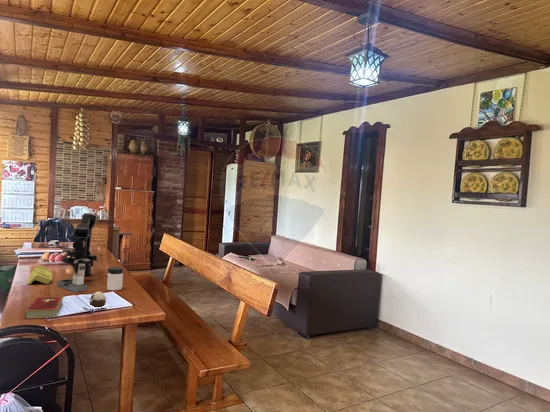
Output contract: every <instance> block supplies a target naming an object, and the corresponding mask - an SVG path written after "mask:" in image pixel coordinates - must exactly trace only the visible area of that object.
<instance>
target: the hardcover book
mask: <svg viewBox="0 0 550 412" xmlns="http://www.w3.org/2000/svg"><path fill="white" fill-rule="evenodd" d="M63 299H64V296H37V297H36V298H35V299H34V300H33V301H32V303H31V304H30V305H29V306H28V308H27V309H26V311H25V312H24V319H42V318H43V319H44V318H45V319H46V317H50V318H55V317H56V316H57V314H58V313H57V311H58V310H60V309H59V308H61V307H62V305H63ZM61 304H62V305H61ZM60 306H61V307H60ZM58 312H59V311H58ZM56 313H57V314H56ZM55 315H56V316H55ZM54 316H55V317H54Z"/></svg>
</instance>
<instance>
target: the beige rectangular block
mask: <svg viewBox="0 0 550 412" xmlns="http://www.w3.org/2000/svg"><path fill="white" fill-rule="evenodd" d="M85 267H86V266H85V264H83V263H79V265H78V272H77V274H82V275H85ZM73 271H74V270H73ZM73 275H75V271H74V274H73Z"/></svg>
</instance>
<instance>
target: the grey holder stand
mask: <svg viewBox="0 0 550 412" xmlns="http://www.w3.org/2000/svg"><path fill="white" fill-rule="evenodd" d="M84 281H85V276H84V275H82V274H75V275H74V274H73V275H72V278H65V279H60V280H56V287H59V288H61V289H65V290H67V291H70V292H73V293H78V292H83V291H88V284H86V283H84Z"/></svg>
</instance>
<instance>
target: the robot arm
mask: <svg viewBox="0 0 550 412" xmlns="http://www.w3.org/2000/svg"><path fill="white" fill-rule="evenodd" d="M97 222H98V217H97V216H96V215H94V214H93V213H89V212H88V213H87V212H84V213H83V214H82V215H81V221H80V224H76V225H77V226H76V227H75V228H74V230H73V235H72V239H75V240H74V241H73V243H72V245H71V246H72V248H73V251H72V250H67V251H66V257H63V258H62V263H64V264H69V265H70V264H71V266H72V268H73V271H75V274H77V272H78V265H79V263H83V264H85V266H86V267H85V275H84V277H89V276H93V274H91V272H92V271H91V269H92V267H94V261H98V257H97V255H96V254H92V252H91V243H92V241H91V240H92V236H93V235H92V234H93V229H94V228H95V227H96V224H97Z"/></svg>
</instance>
